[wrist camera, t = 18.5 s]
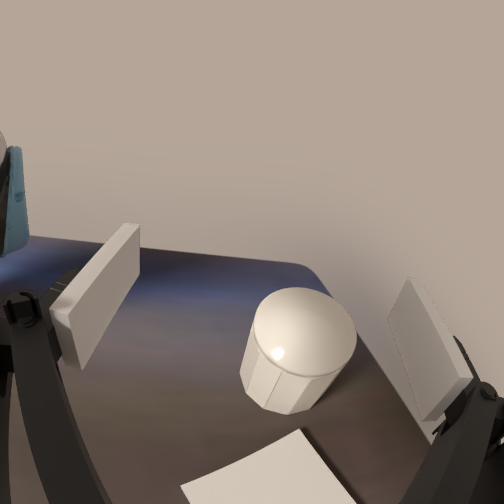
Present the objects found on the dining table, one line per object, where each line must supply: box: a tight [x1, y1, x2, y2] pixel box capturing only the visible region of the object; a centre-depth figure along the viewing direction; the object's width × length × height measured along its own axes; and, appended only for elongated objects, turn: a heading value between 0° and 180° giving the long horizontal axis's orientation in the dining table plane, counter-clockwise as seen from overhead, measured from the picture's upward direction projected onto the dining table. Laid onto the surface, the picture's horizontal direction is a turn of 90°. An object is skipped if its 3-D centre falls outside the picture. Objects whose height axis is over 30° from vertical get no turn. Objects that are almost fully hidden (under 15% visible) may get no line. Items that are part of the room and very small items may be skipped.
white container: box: [240, 287, 357, 415], centre depth 34 cm, size 10×10×10 cm
